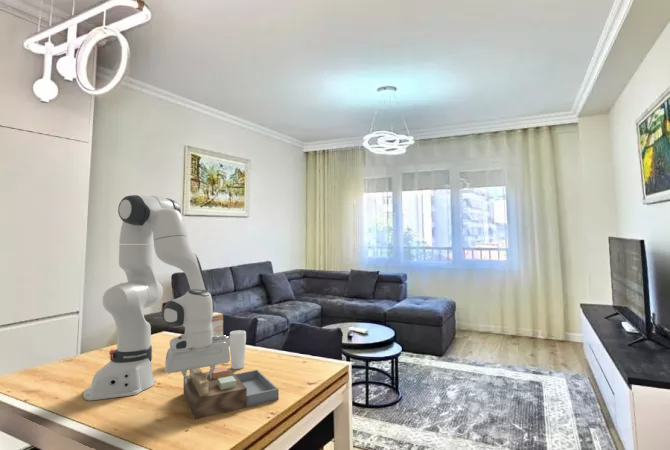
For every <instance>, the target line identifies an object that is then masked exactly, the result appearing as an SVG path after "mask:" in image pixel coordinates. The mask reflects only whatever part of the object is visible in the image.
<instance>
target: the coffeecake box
mask: <svg viewBox="0 0 670 450" xmlns="http://www.w3.org/2000/svg"><path fill="white" fill-rule="evenodd" d="M211 323H212V327H213V337H216V336H224V313H223V312H222V313H221V312H215V311H214V312H213V317H212V321H211Z"/></svg>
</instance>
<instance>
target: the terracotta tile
mask: <svg viewBox="0 0 670 450" xmlns="http://www.w3.org/2000/svg"><path fill="white" fill-rule="evenodd" d="M227 369H228V368H226V366H219V367H215V369H214V371H213V373H212V378H213V379H216V378H221V377H226V376H228V370H227Z"/></svg>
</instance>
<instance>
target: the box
mask: <svg viewBox="0 0 670 450" xmlns="http://www.w3.org/2000/svg"><path fill="white" fill-rule="evenodd" d="M234 374H235V375H236V377H237V378H238V379H239V380H240V381H241V382H242V383H243V385H244V386H245V387H246V388H247V407H246V408H249V407H252V406H257V405H261V404H265V403H269V402H274V401H278V400H279V398H280V397H279V391H280V389H279V387H277V386H276V385H275V384H274V383H273V382H272V381H271V380H270V379H269V378H267V377H266V376H265V375H264V374H263V373H262V372H261V371H260V370H259V369H255V370H250V371H245V372H239V373H234Z"/></svg>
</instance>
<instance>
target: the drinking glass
mask: <svg viewBox="0 0 670 450" xmlns="http://www.w3.org/2000/svg"><path fill="white" fill-rule="evenodd" d="M229 339H230V346H229V353H230V362H231V363H230V364H231V365H230V367H231V368H230V369H233V370H240V369H243V368H244V367H245V355H246V343H247V332H246V330H241V329H238V330H232V331H230V332H229Z"/></svg>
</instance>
